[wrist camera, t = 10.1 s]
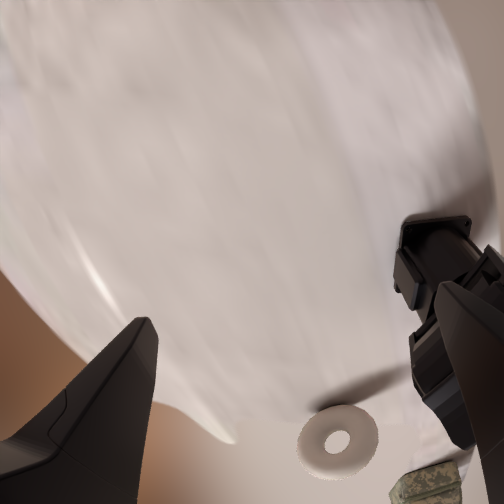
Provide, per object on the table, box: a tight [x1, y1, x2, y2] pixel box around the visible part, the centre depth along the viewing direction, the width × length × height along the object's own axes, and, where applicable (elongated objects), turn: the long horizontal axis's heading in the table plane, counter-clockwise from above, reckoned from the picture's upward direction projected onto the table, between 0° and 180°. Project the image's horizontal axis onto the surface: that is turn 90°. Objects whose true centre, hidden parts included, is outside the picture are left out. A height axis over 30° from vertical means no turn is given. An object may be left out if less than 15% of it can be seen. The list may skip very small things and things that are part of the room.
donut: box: [297, 405, 378, 480], centre depth 32 cm, size 10×4×10 cm, turn 120°
